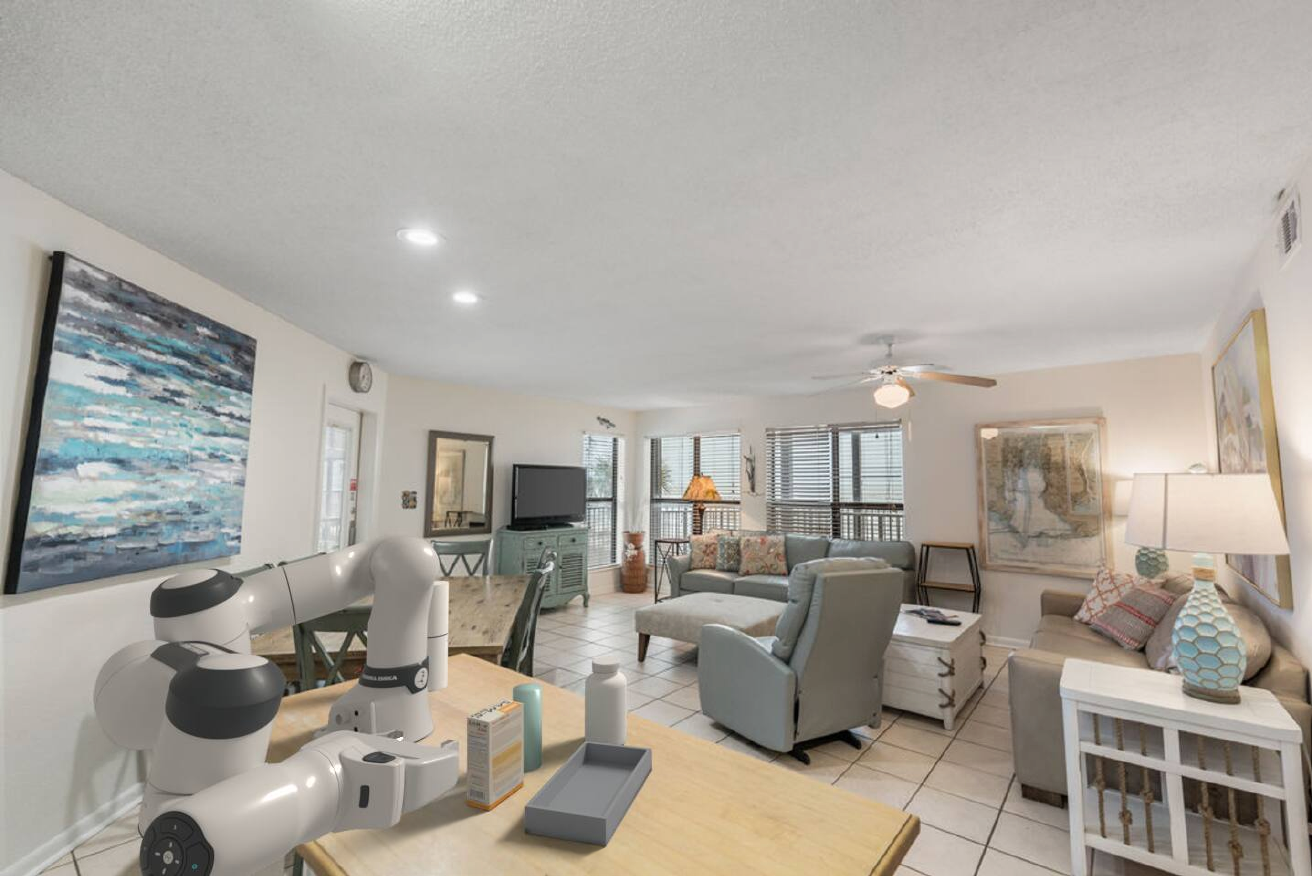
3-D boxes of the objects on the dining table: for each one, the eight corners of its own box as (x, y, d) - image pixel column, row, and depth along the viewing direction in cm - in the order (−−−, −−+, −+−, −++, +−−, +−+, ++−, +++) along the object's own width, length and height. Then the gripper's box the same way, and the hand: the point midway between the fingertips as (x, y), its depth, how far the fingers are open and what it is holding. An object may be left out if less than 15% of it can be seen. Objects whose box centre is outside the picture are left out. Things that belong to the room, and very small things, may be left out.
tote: (524, 832, 79) (524, 805, 79) (585, 761, 99) (585, 740, 99) (606, 846, 75) (605, 818, 76) (651, 769, 96) (651, 748, 96)
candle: (506, 770, 96) (507, 691, 98) (521, 756, 101) (522, 681, 102) (533, 773, 95) (533, 693, 96) (547, 759, 100) (546, 684, 101)
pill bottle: (621, 752, 102) (620, 667, 104) (579, 749, 104) (578, 665, 105) (631, 733, 110) (630, 654, 111) (592, 731, 112) (591, 653, 113)
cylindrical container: (410, 691, 136) (412, 585, 138) (426, 681, 143) (428, 580, 145) (437, 692, 135) (439, 585, 137) (452, 682, 142) (454, 581, 144)
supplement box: (501, 779, 93) (502, 697, 95) (524, 785, 91) (525, 702, 92) (464, 804, 86) (465, 715, 87) (488, 812, 84) (489, 720, 85)
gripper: (266, 797, 66) (365, 754, 78) (400, 832, 58) (486, 779, 71) (273, 738, 67) (370, 706, 79) (405, 766, 59) (489, 725, 72)
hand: (426, 741), depth 75 cm, fingers open, 8 cm apart
